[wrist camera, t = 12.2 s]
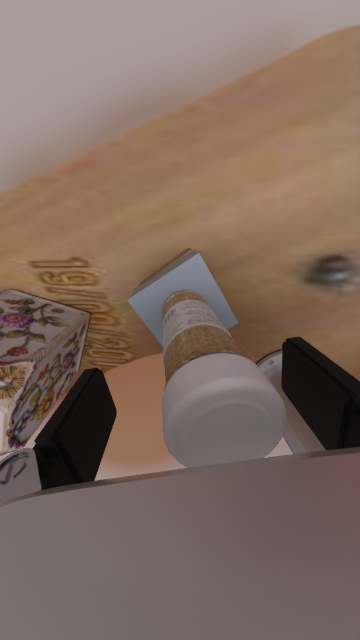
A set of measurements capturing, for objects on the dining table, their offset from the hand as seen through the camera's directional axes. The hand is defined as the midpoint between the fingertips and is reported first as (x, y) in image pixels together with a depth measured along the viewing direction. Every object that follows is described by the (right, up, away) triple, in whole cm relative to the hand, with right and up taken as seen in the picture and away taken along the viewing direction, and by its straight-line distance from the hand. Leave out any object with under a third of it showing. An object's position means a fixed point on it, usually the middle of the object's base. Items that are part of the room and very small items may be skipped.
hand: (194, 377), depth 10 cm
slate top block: (0, +6, +14) cm, 15 cm away
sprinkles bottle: (0, +4, +9) cm, 10 cm away
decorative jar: (-21, +1, +21) cm, 30 cm away
